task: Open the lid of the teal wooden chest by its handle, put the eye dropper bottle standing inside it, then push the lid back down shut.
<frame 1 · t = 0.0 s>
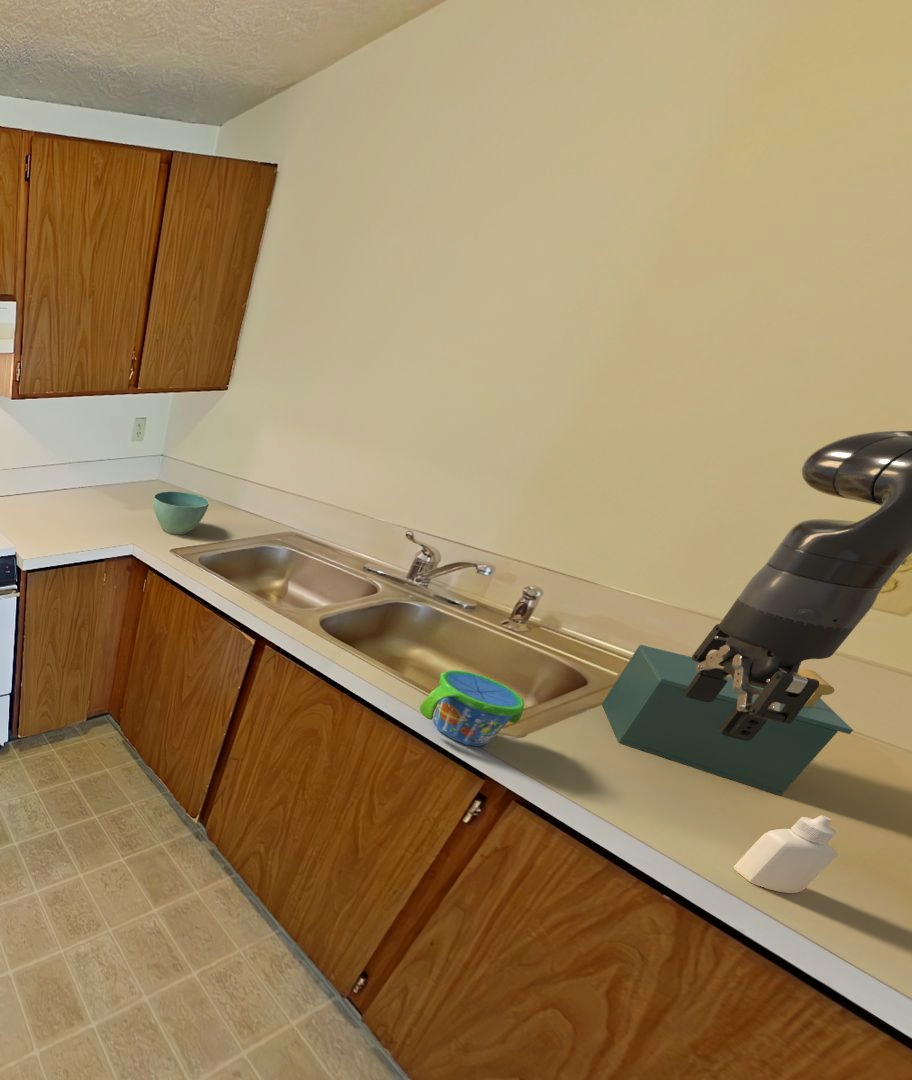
hand: (713, 716, 65), 22 cm above the countertop, tool pointing down, fingers open, 8 cm apart
green bowl: (175, 530, 185), on the countertop
lid: (740, 673, 83), point 16 cm above the countertop, hinge at 0.0°
snack cup: (458, 733, 92), on the countertop
eye dropper bottle: (764, 881, 68), on the countertop
chest: (681, 745, 90), on the countertop
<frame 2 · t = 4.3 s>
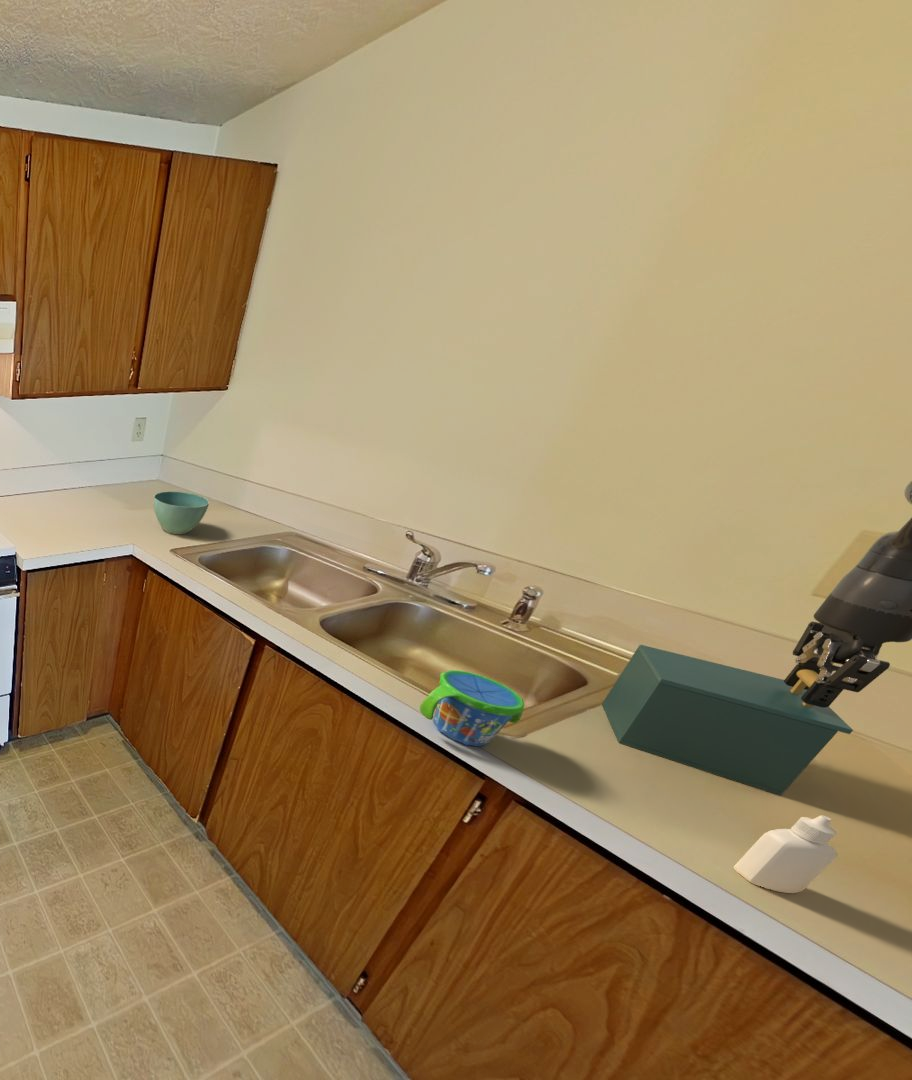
hand: (804, 694, 80), 15 cm above the countertop, tool pointing down, fingers closed on lid, 5 cm apart
lid: (740, 673, 83), point 16 cm above the countertop, hinge at 0.0°, touching gripper
everything else where it was.
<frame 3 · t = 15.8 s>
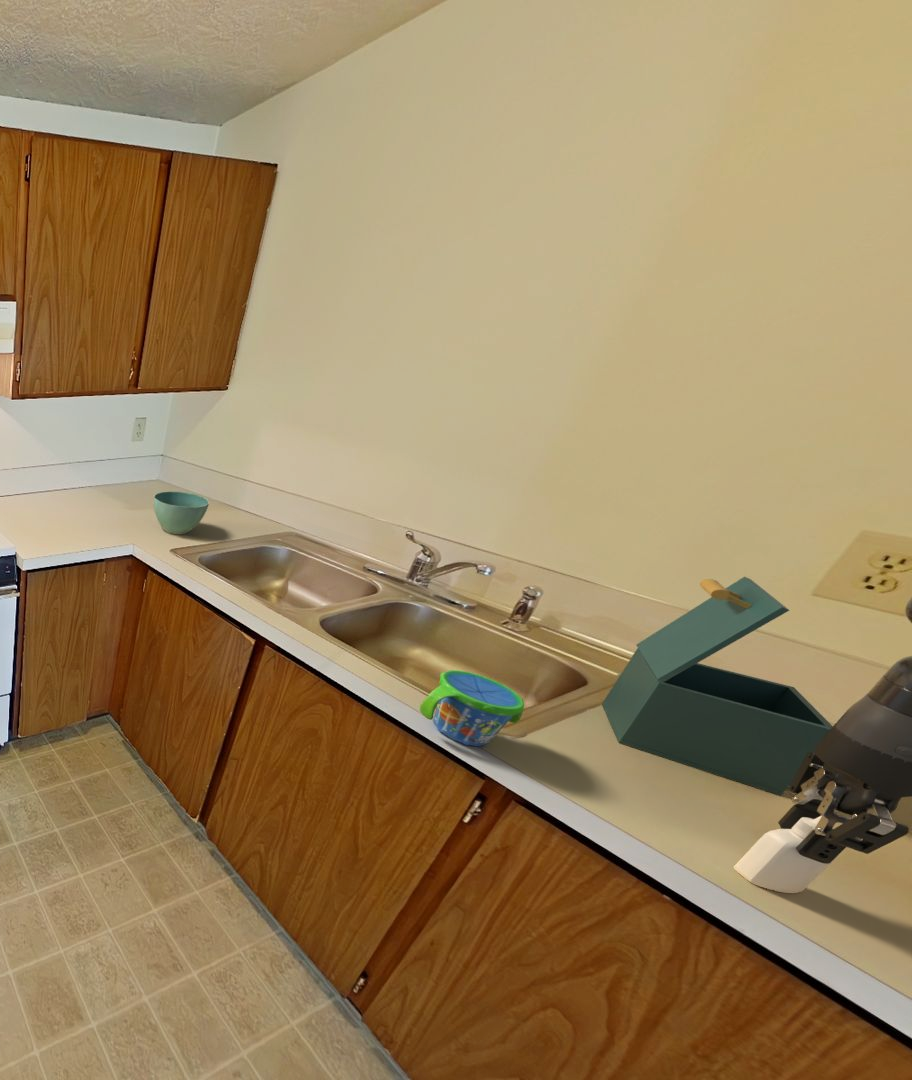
hand: (801, 843, 65), 7 cm above the countertop, tool pointing down, fingers closed on eye dropper bottle, 4 cm apart
lid: (686, 621, 85), point 23 cm above the countertop, hinge at 70.0°
eye dropper bottle: (764, 881, 68), on the countertop, touching gripper
everything else where it was.
when the fingers open (8 cm above the countertop, at t = 24.9 s): eye dropper bottle stays where it is, resting on chest.
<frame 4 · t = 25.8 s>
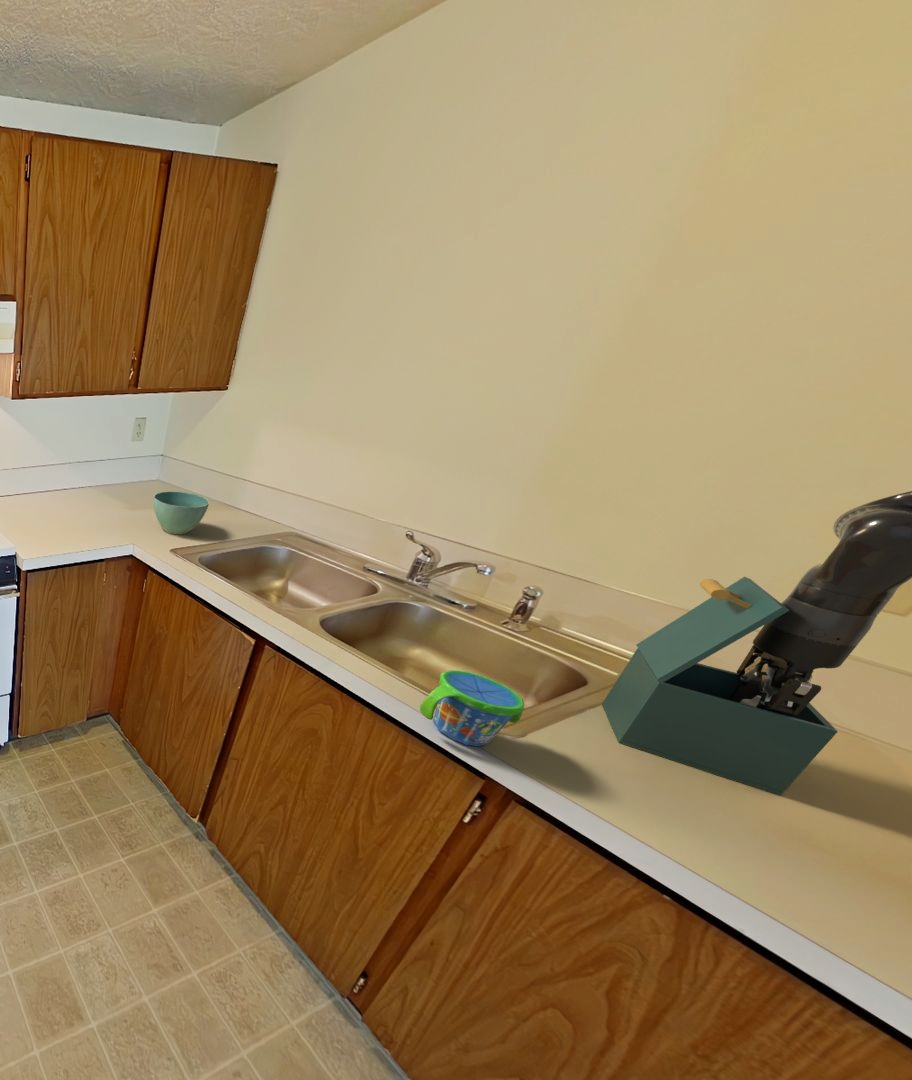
hand: (747, 714, 84), 9 cm above the countertop, tool pointing down, fingers open, 6 cm apart
eye dropper bottle: (716, 752, 87), point 1 cm above the countertop, touching chest
everything else where it was.
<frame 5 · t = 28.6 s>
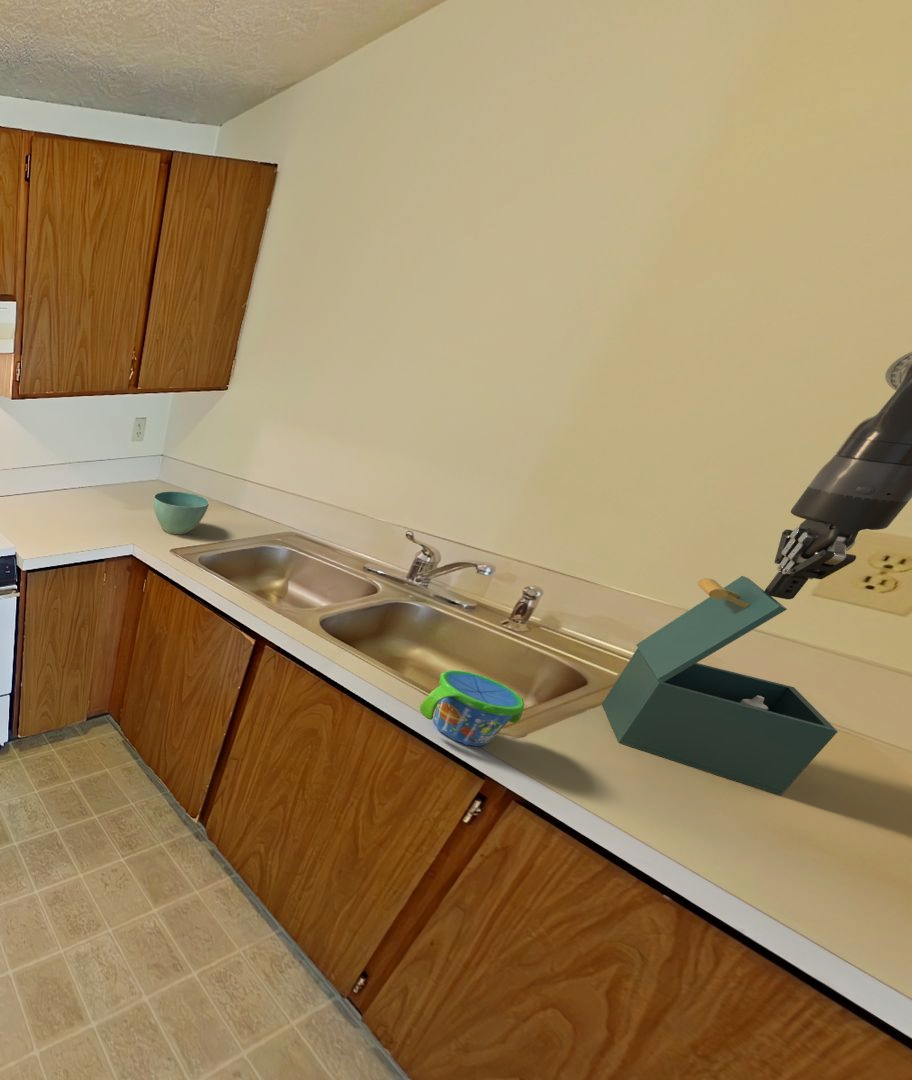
hand: (777, 596, 79), 30 cm above the countertop, tool pointing down, fingers closed
lid: (685, 621, 85), point 23 cm above the countertop, hinge at 70.9°, touching gripper
everything else where it was.
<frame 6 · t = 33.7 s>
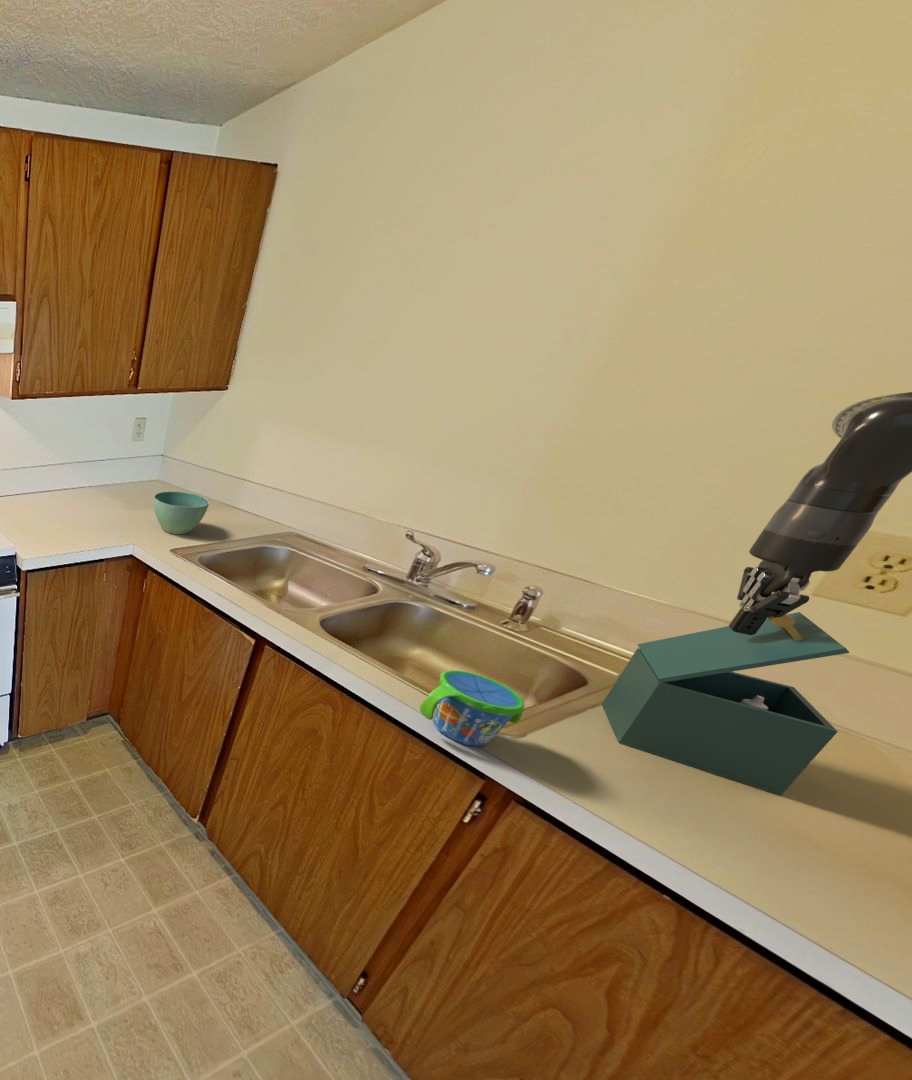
hand: (740, 631, 82), 23 cm above the countertop, tool pointing down, fingers closed
lid: (720, 636, 83), point 21 cm above the countertop, hinge at 43.9°, touching gripper
everything else where it was.
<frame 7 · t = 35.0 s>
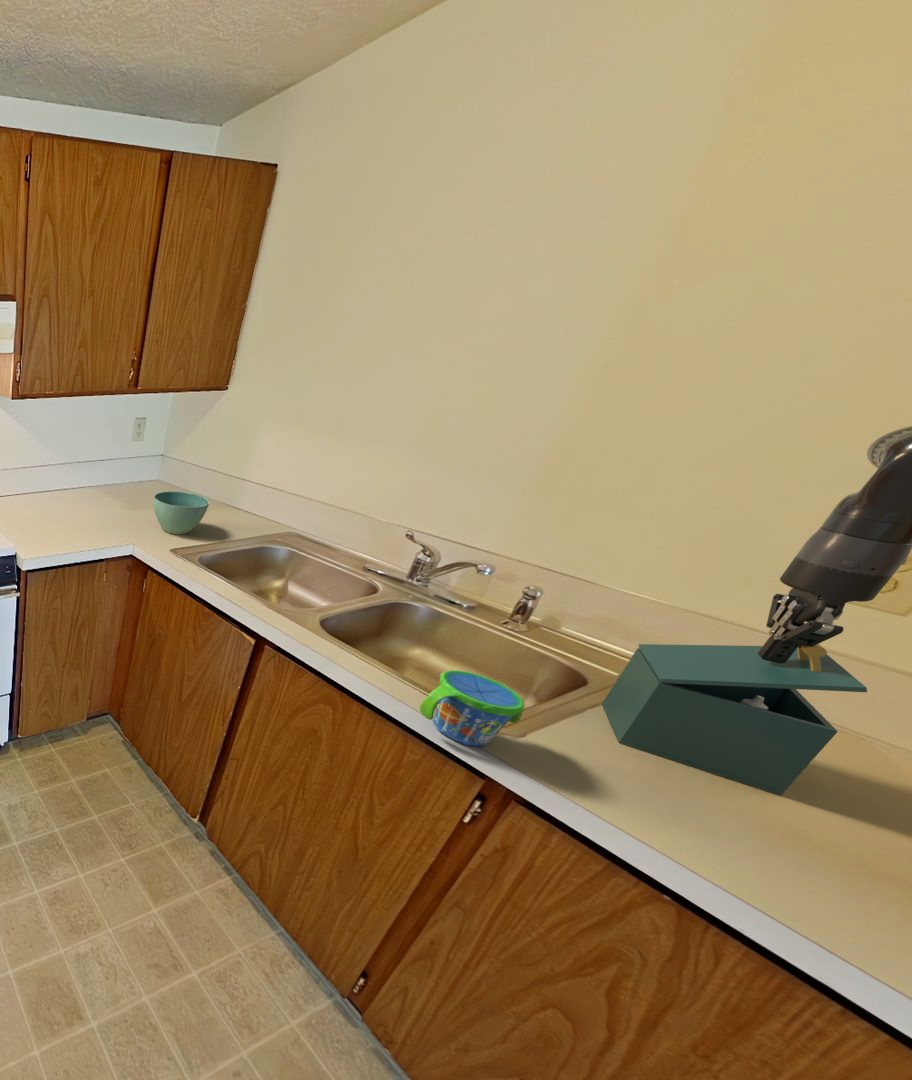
hand: (769, 659, 81), 19 cm above the countertop, tool pointing down, fingers closed
lid: (736, 653, 83), point 19 cm above the countertop, hinge at 23.4°, touching gripper
everything else where it was.
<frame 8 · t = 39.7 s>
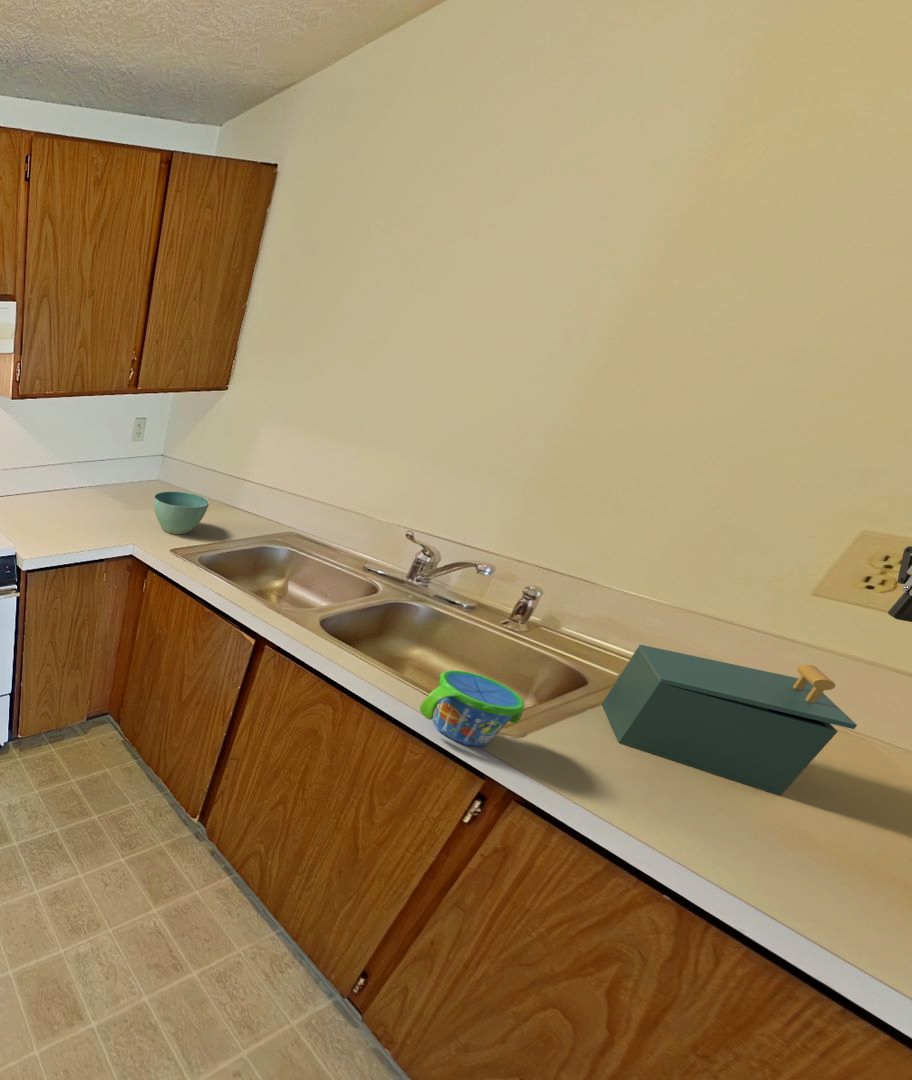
hand: (903, 618, 72), 30 cm above the countertop, tool pointing down, fingers closed
lid: (740, 670, 83), point 16 cm above the countertop, hinge at 3.1°
everything else where it was.
at the end: lid reached +72° during the clip, +3° at the end; eye dropper bottle inside the target area in the chest (3.5 cm from its centre), point 0.6 cm above the chest's base; lid at +3° (first picture: +0°) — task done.
